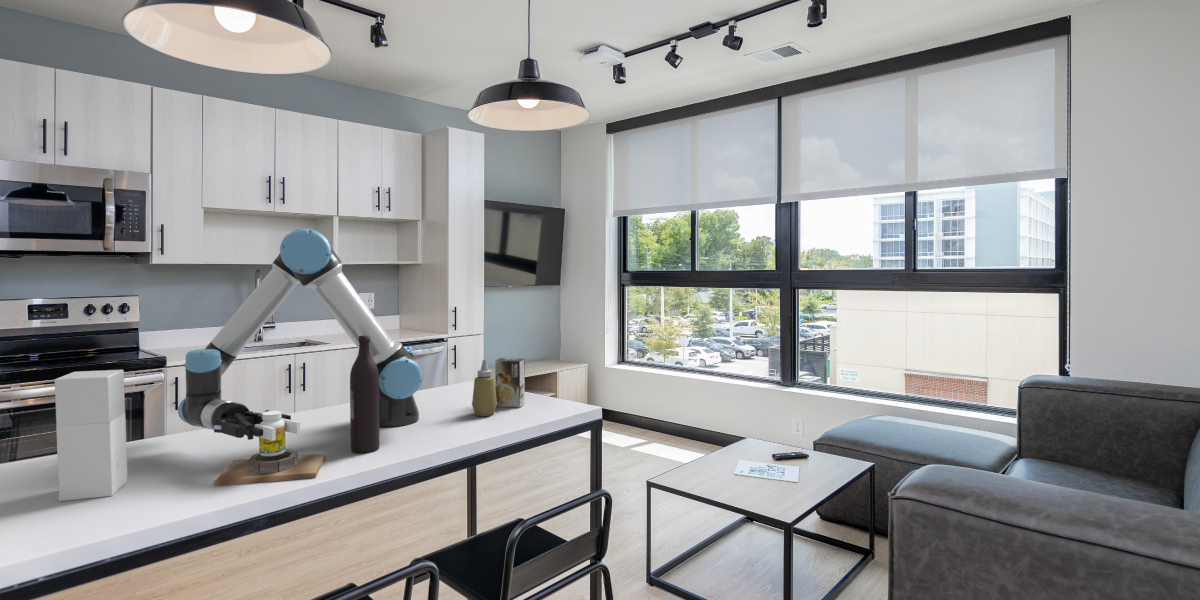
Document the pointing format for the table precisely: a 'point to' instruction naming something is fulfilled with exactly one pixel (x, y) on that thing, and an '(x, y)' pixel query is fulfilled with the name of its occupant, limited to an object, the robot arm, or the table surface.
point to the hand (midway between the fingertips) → (286, 431)
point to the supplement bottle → (279, 444)
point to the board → (271, 468)
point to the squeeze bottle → (484, 392)
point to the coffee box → (510, 382)
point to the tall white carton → (91, 434)
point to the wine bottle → (364, 400)
